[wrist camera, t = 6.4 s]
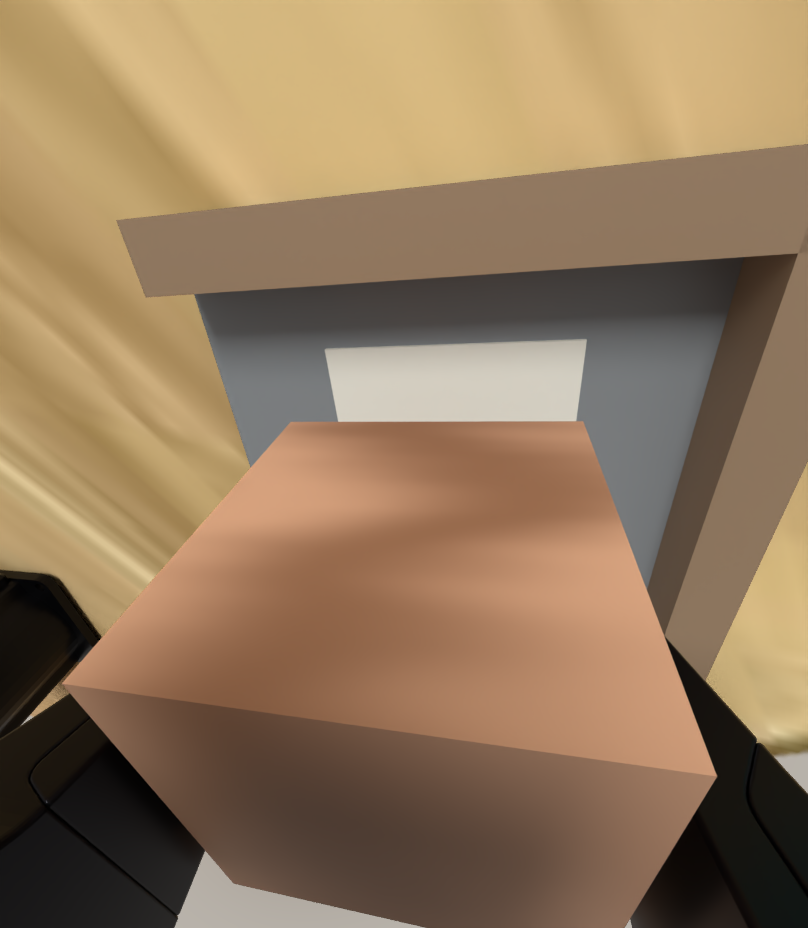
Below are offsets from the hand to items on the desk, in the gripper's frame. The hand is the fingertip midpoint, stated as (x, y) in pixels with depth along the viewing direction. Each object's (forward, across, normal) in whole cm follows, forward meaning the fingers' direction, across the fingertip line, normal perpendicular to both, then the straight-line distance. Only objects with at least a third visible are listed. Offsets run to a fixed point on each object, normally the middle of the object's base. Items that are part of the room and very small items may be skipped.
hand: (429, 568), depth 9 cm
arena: (+5, -1, 0) cm, 5 cm away
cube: (+1, 0, 0) cm, 1 cm away
